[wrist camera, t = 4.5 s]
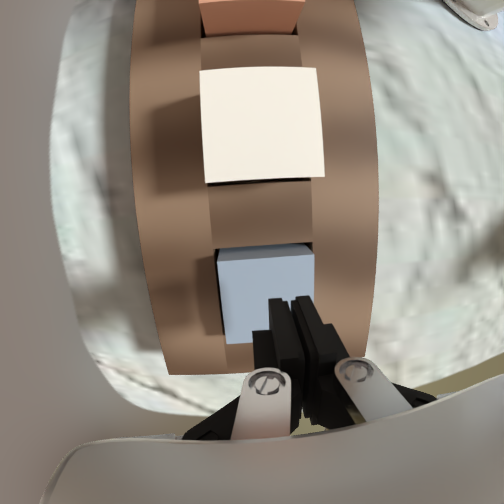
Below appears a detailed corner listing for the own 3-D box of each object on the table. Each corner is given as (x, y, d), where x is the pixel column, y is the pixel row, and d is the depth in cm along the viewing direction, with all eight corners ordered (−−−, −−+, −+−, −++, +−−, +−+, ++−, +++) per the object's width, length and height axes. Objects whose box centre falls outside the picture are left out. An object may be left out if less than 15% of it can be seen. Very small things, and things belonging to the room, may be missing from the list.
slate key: (221, 242, 18) (217, 261, 14) (298, 237, 18) (314, 254, 14) (228, 312, 20) (226, 344, 16) (298, 306, 20) (312, 336, 16)
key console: (155, -12, 14) (142, -38, 10) (325, -18, 14) (339, -43, 10) (178, 344, 22) (169, 374, 18) (347, 329, 22) (364, 356, 18)
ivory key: (208, 95, 14) (199, 70, 10) (297, 91, 14) (315, 68, 10) (213, 181, 15) (205, 183, 11) (303, 176, 15) (324, 176, 11)
